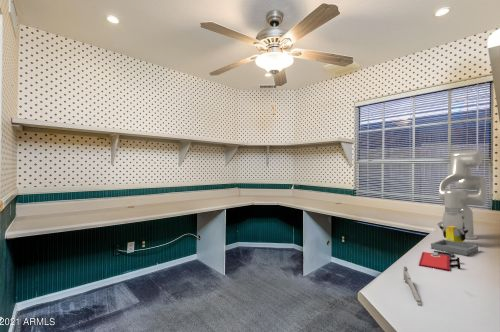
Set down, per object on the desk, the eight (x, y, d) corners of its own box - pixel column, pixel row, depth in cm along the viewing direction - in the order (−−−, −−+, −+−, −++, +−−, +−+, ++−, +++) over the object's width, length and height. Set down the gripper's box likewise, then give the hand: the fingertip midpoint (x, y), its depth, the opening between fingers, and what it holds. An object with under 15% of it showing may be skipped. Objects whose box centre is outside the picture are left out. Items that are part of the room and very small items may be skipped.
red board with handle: (458, 255, 126) (423, 250, 136) (458, 250, 127) (423, 245, 136) (461, 275, 103) (418, 267, 113) (460, 268, 103) (418, 261, 113)
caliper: (403, 280, 98) (402, 265, 98) (406, 281, 97) (405, 265, 98) (418, 306, 79) (417, 286, 79) (421, 306, 78) (421, 287, 79)
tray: (443, 244, 147) (443, 239, 147) (478, 251, 133) (477, 245, 133) (431, 248, 139) (430, 243, 139) (466, 256, 125) (466, 250, 125)
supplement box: (454, 242, 151) (453, 224, 151) (463, 245, 145) (462, 226, 145) (445, 242, 151) (444, 225, 151) (454, 245, 145) (453, 227, 145)
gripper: (473, 211, 143) (475, 241, 142) (438, 208, 158) (440, 235, 157) (468, 212, 139) (470, 243, 138) (433, 209, 154) (434, 236, 153)
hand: (454, 238), depth 148 cm, fingers closed on supplement box, 7 cm apart
